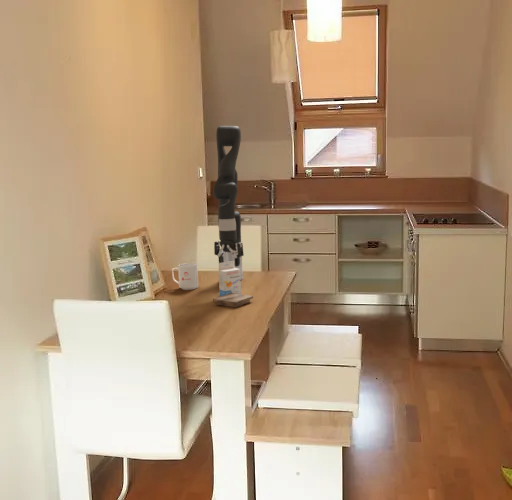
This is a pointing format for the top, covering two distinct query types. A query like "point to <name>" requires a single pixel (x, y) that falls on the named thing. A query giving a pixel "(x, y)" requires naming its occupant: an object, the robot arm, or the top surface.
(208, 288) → the top surface
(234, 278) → the ink box
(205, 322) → the top surface
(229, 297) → the stand
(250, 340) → the top surface
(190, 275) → the mug
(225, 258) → the robot arm
